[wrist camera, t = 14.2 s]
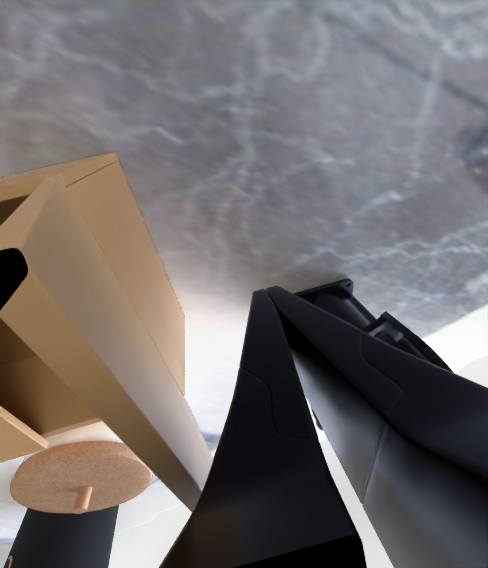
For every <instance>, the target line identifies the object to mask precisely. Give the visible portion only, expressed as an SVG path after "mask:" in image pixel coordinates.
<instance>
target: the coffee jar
mask: <svg viewBox="0 0 488 568" xmlns="http://www.w3.org/2000/svg"><path fill="white" fill-rule="evenodd" d="M118 507H119V504H118V505H116V506H112V507H109V508H105V509H101V510H96V511H89V512H84V513H81V514H74V513H51V512H43V511H38V510H34V509H31V508H28V509H27V512H26V514H25V516H24V519H23V521H22V524H21V526H20V529H19V531H18V534H17V536H16V538H15V541H14V543H13V546H12V548H11V551H10V553H9V556H8V558H7V561H6V563H5V565H4V568H108V565H109V559H110V553H111V548H112V542H113V536H114V530H115V524H116V519H117V513H118Z"/></svg>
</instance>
